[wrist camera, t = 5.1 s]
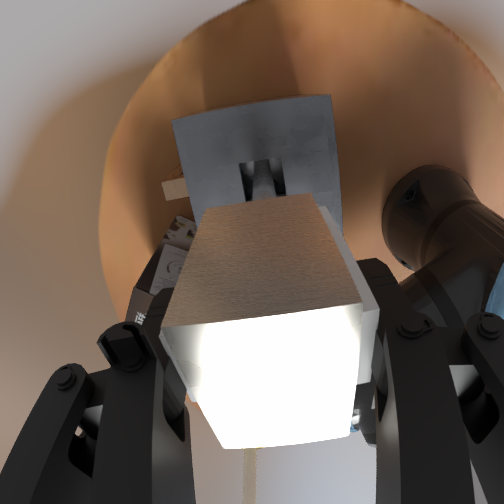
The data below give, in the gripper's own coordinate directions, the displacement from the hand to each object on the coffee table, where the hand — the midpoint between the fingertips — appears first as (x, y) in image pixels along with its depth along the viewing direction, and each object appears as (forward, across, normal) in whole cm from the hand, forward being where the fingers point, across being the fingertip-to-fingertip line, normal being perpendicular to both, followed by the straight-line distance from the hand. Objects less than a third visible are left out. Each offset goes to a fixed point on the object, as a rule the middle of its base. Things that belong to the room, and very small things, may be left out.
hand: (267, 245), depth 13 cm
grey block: (+25, +1, 0) cm, 25 cm away
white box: (+15, 0, 0) cm, 15 cm away
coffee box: (+25, +12, +12) cm, 30 cm away
